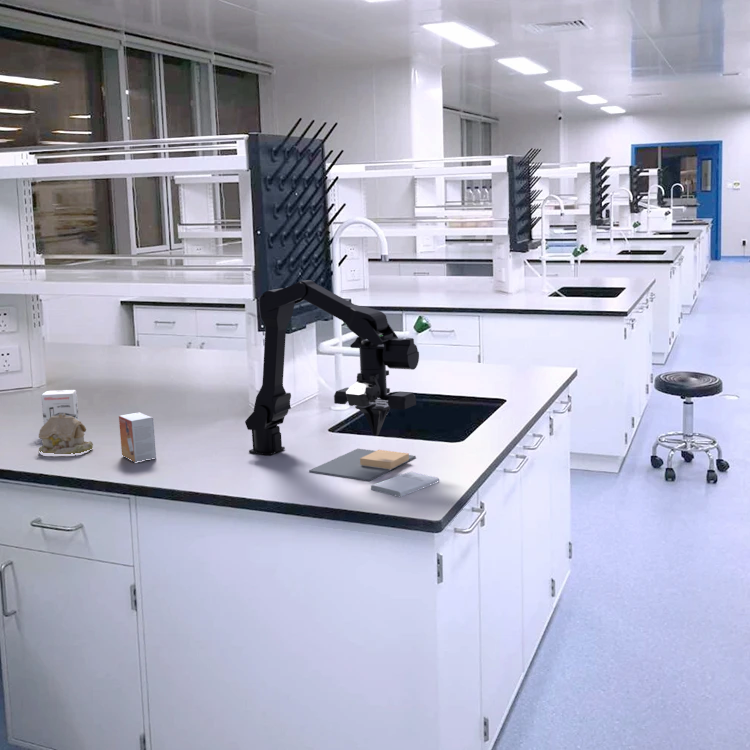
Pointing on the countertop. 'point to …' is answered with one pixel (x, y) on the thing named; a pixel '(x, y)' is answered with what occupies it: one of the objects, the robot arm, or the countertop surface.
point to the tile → (384, 459)
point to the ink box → (59, 404)
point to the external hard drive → (404, 483)
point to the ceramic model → (63, 436)
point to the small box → (137, 436)
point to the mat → (352, 466)
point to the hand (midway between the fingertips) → (376, 435)
